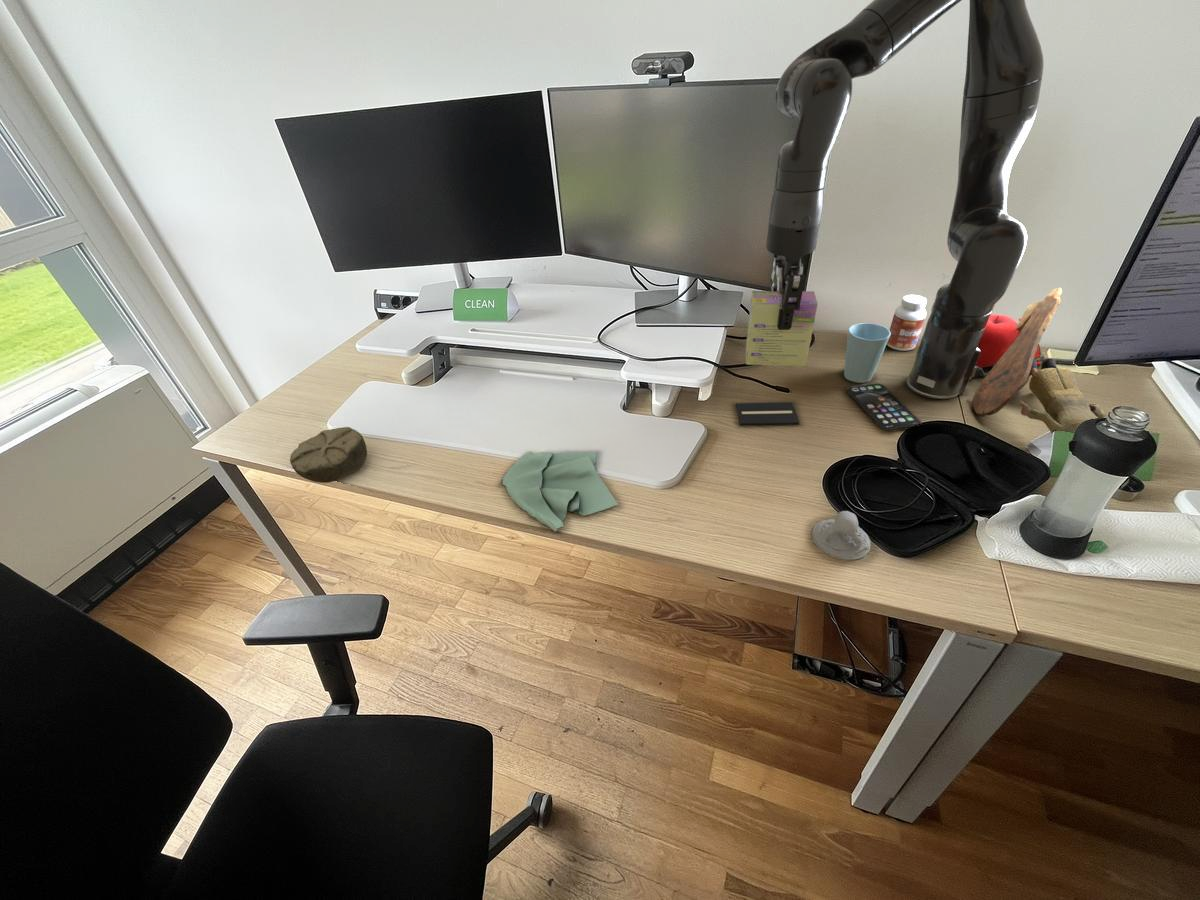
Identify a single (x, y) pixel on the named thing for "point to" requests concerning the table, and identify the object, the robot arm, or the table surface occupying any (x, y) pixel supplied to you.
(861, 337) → the cup
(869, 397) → the smartphone
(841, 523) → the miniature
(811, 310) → the box
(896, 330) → the pill bottle
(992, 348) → the apple
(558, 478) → the cloth
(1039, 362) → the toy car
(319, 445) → the stone
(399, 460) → the table surface
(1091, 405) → the figurine
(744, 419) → the black striped rectangular slab
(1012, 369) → the paddle
